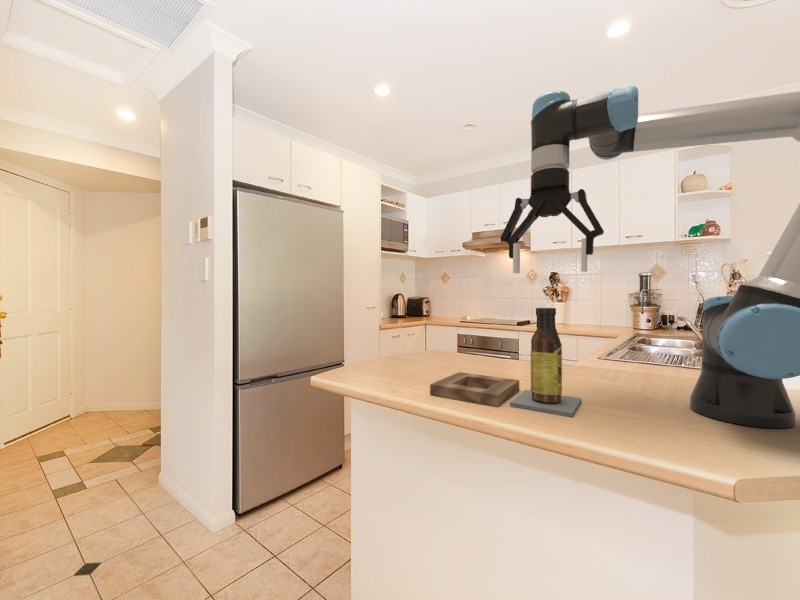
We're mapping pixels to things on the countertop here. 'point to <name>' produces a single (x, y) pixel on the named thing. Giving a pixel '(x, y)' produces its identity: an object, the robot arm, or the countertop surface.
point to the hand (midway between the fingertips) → (548, 272)
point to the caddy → (459, 388)
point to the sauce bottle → (546, 359)
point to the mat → (547, 404)
